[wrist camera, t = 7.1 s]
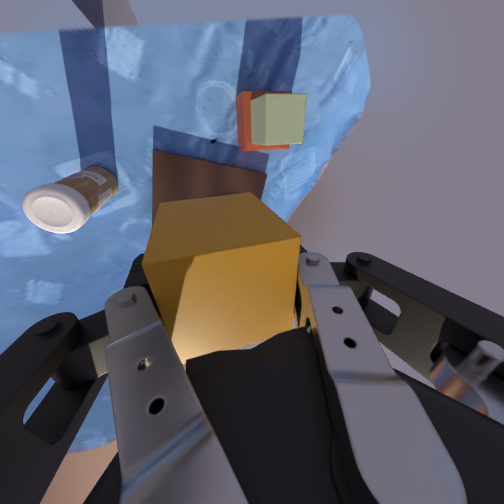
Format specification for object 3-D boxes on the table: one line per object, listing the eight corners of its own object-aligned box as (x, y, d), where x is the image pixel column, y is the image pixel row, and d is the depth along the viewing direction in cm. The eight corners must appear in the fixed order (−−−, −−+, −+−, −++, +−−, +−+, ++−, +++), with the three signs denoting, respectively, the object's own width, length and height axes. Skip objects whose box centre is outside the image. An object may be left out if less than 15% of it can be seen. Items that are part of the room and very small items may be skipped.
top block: (180, 278, 13) (179, 365, 8) (159, 202, 11) (140, 263, 6) (253, 263, 14) (292, 332, 9) (251, 191, 12) (302, 235, 7)
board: (152, 235, 36) (152, 238, 35) (153, 149, 30) (152, 149, 29) (248, 243, 42) (249, 245, 42) (265, 173, 36) (267, 174, 35)
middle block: (251, 143, 30) (265, 145, 25) (250, 100, 27) (265, 93, 22) (283, 141, 31) (302, 143, 26) (285, 100, 28) (307, 93, 23)
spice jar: (103, 160, 29) (54, 178, 18) (125, 190, 31) (95, 222, 20) (73, 174, 29) (4, 201, 18) (98, 203, 31) (51, 242, 20)
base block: (238, 149, 33) (245, 151, 30) (235, 95, 30) (242, 90, 26) (278, 147, 35) (288, 148, 31) (280, 95, 31) (292, 91, 28)
